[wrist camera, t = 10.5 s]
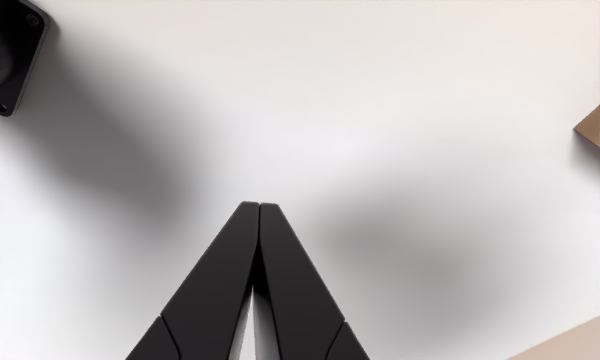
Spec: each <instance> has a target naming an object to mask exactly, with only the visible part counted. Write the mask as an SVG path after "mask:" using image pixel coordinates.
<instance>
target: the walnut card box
mask: <svg viewBox="0 0 600 360" xmlns="http://www.w3.org/2000/svg"><path fill="white" fill-rule="evenodd" d="M573 129H574V130H576V131H577V132H579V133H580V134H581V135H583V136H584V137H586V138H587V139H589V140H590V141H591V142H593V143H594V144H596V145H597V146H598V147H600V105H599V106H598V107H597V108H596V109H595V110H594V111H592V112H591V113H590V114H589V115H588V116H587V117H586V118H584V119H583V120H582V121H581V122H580V123H579V124H578V125H577V126H575V127H574V128H573Z"/></svg>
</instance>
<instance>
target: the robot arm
mask: <svg viewBox="0 0 600 360" xmlns="http://www.w3.org/2000/svg"><path fill="white" fill-rule="evenodd" d="M31 15H34V16H35V17H36V18H37V19H38V21H39V24H37V23H35V22H34V21H33V20H32V18H31ZM48 27H49V19H48V16H47V15H46V14H45V12H43V11H42V10H41V9H39V8H38V7H36V6H35V5H33V4H32V3H30V2H28V1H27V0H0V115H1V116H6V117H8V116H11V115H12V114H13V113H15V112H16V111H17V109H18V106H19V103H20V101H21V98H22V95H23V93H24V90H25V88H26V85H27V82H28V80H29V77H30V74H31V72H32V69H33V67H34V64H35V61H36V59H37V56H38V53H39V51H40V48H41V46H42V43H43V40H44V38H45V35H46V33H47V30H48ZM1 104H3V105H4V106H6V108H7V109H6V108H4V107H3V106H2V105H1ZM252 288H253V317H254V335H255V354H256V360H370V359H369V357H368V356H367V354H366V352H365V351H364V349H363V348H362V346H361V344H360V343H359V341H358V340H357V338H356V336H355V334H354V333H353V331H352V329H351V328H350V326H349V324H348V323H347V322H344V321H345V318H344V316H343V314H342V313H341V311H340V309H339V307H338V306H337V304H336V302H335V301H334V299H333V297H332V296H331V294H330V292H329V290H328V289H327V287H326V285H325V284H324V282H323V280H322V279H321V277H320V275H319V273H318V272H317V270H316V268H315V267H314V265H313V263H312V261H311V260H310V258H309V256H308V255H307V253H306V251H305V250H304V248H303V246H302V244H301V243H300V241H299V239H298V238H297V236H296V234H295V233H294V231H293V229H292V227H291V226H290V224H289V222H288V221H287V219H286V217H285V215H284V214H283V212H282V210H281V209H280V207H279V205H277V204H275V203H261V204H259V203H258V202H249V201H243V202H241V203H240V205H239V206H238V207H237V209H236V210H235V212H234V213H233V214H232V216H231V217H230V218H229V220H228V221H227V222H226V224H225V225H224V227H223V228H222V229H221V231H220V232H219V233H218V235H217V236H216V238H215V239H214V240H213V242H212V243H211V244H210V246H209V247H208V249H207V250H206V251H205V253H204V254H203V255H202V257H201V258H200V259H199V261H198V262H197V264H196V265H195V266H194V268H193V269H192V270H191V272H190V273H189V275H188V276H187V277H186V279H185V280H184V281H183V283H182V284H181V286H180V287H179V288H178V290H177V291H176V292H175V294H174V295H173V296H172V298H171V299H170V301H169V302H168V303H167V305H166V306H165V307H164V309H163V310H162V312H161V313H160V316H158V317H157V318H156V319H155V321H154V322H153V324H152V325H151V326H150V328H149V329H148V330H147V332H146V333H145V335H144V336H143V337H142V338H141V340H140V341H139V342H138V344H137V345H136V346H135V347H134V349H133V350H132V351H131V353H130V354H129V355H128V356H127V358H126V359H125V360H239V357H240V352H241V347H242V342H243V337H244V332H245V327H246V322H247V317H248V312H249V307H250V302H251V296H252Z"/></svg>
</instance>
